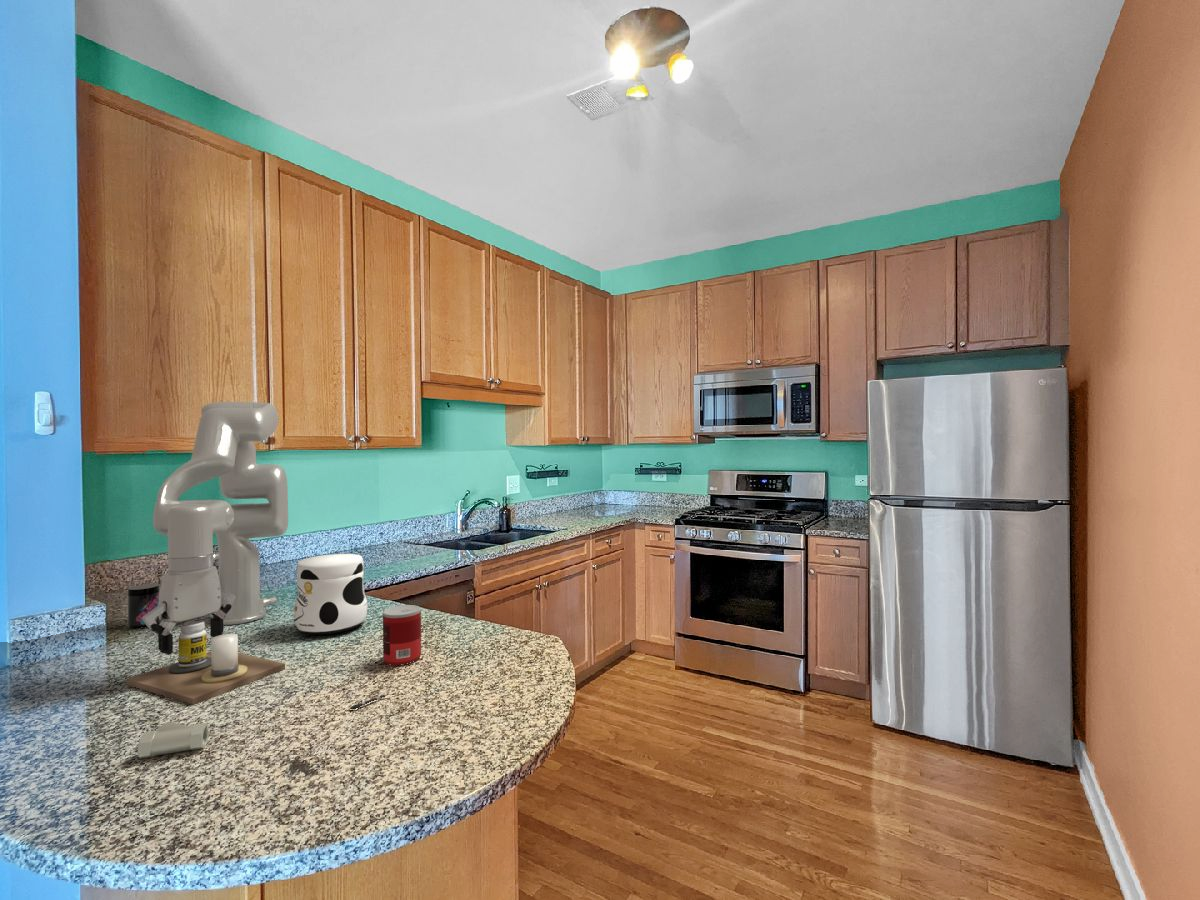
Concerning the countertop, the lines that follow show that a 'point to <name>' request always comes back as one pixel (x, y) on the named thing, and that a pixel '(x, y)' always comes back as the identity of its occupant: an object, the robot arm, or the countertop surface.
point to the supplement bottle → (192, 644)
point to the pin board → (202, 678)
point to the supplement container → (142, 603)
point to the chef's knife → (366, 702)
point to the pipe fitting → (173, 739)
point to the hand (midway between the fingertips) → (192, 644)
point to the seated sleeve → (224, 655)
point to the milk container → (330, 594)
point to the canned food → (401, 634)
